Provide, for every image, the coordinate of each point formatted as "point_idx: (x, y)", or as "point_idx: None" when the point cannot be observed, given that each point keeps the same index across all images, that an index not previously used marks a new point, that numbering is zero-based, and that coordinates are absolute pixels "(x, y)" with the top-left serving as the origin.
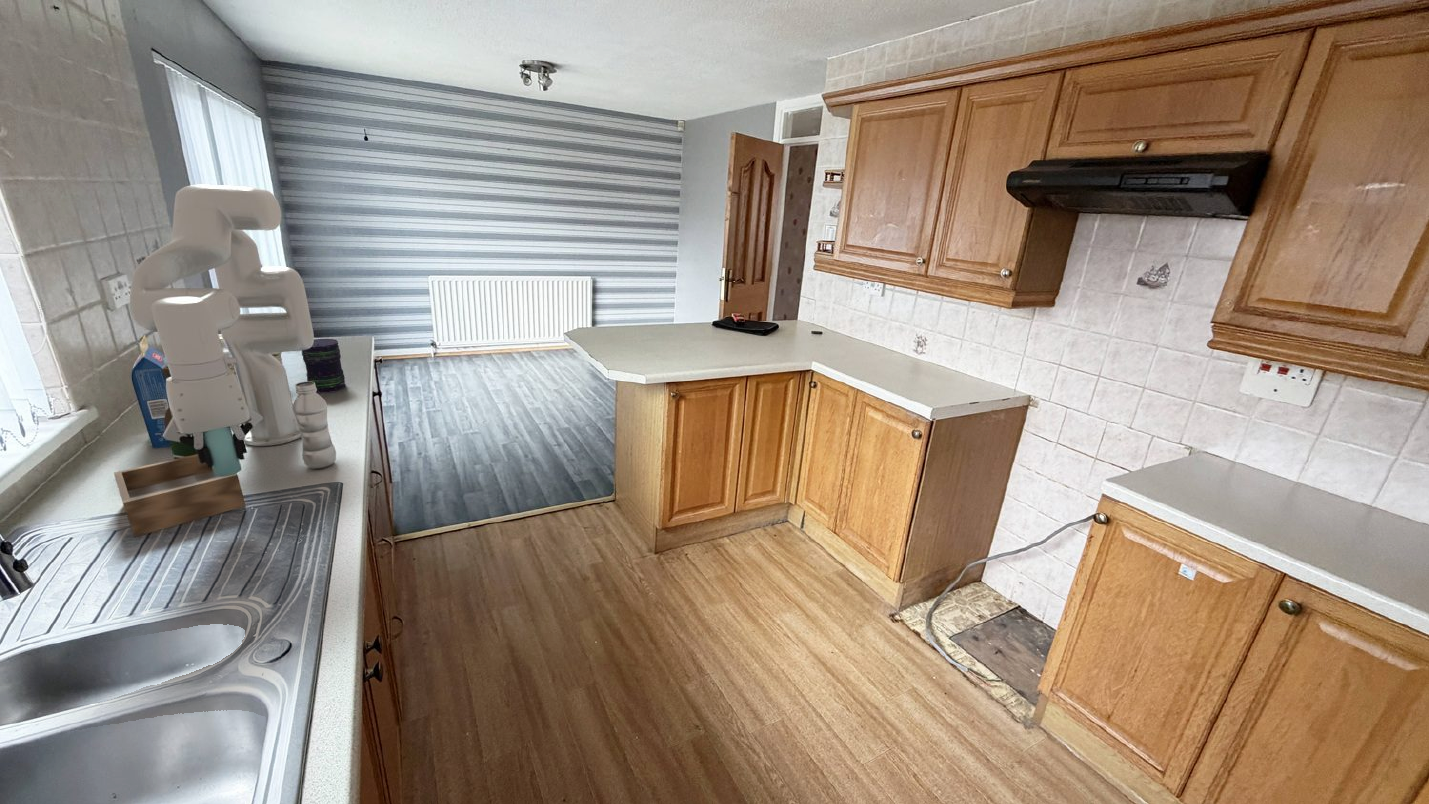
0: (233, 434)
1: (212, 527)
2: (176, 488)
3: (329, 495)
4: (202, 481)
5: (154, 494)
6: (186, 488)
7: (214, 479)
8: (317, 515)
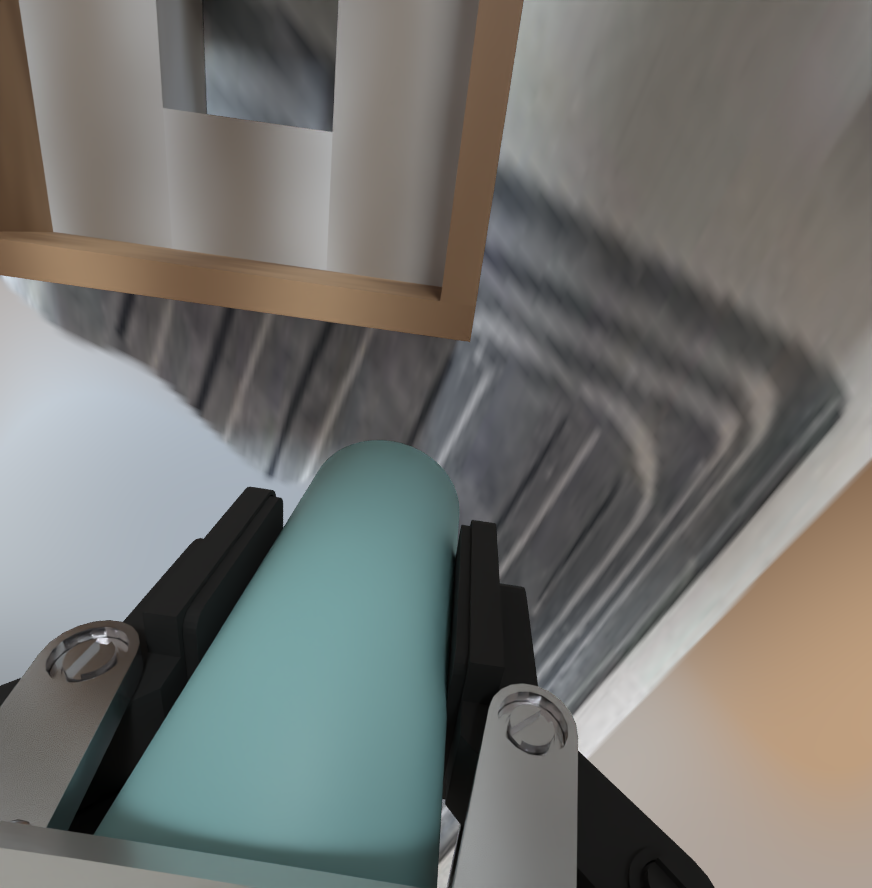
0: (465, 753)
1: (321, 405)
2: (163, 274)
3: (723, 484)
4: (293, 285)
5: (59, 267)
6: (212, 302)
7: (353, 307)
8: (597, 594)
